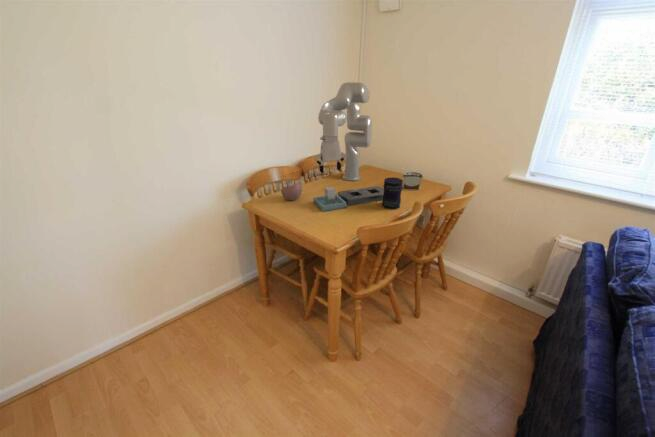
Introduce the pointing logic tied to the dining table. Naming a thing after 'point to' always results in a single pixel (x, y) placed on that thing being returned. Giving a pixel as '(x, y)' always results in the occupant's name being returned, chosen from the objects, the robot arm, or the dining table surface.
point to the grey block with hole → (362, 195)
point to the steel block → (329, 195)
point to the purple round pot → (291, 191)
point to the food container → (412, 180)
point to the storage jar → (392, 193)
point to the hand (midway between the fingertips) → (330, 171)
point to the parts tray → (323, 207)
